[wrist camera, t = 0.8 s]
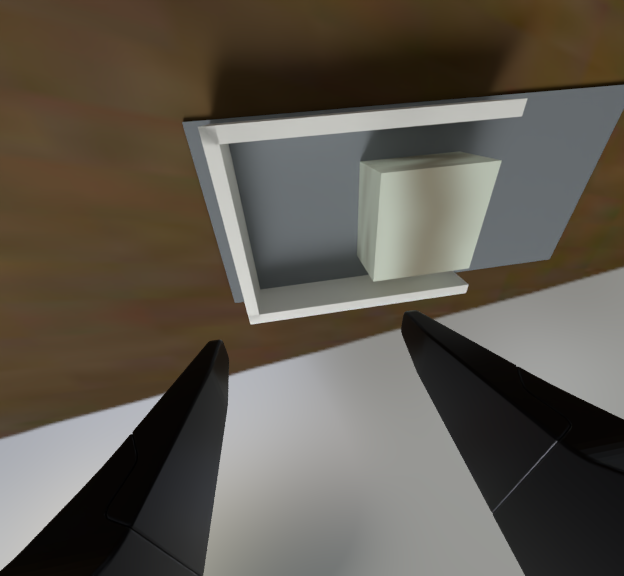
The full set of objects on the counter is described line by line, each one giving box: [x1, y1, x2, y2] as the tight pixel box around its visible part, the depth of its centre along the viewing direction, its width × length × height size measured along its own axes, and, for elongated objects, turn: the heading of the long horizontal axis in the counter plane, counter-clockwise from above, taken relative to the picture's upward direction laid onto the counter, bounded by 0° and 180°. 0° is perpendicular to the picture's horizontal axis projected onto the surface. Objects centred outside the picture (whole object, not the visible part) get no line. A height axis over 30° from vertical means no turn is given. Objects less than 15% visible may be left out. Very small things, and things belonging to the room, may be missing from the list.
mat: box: [182, 85, 624, 303], centre depth 20 cm, size 29×13×1 cm, turn 94°
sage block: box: [357, 151, 502, 282], centre depth 18 cm, size 7×7×4 cm
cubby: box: [198, 98, 528, 324], centre depth 18 cm, size 17×13×4 cm
